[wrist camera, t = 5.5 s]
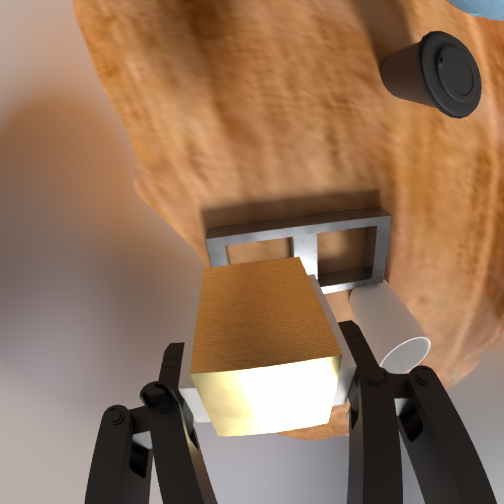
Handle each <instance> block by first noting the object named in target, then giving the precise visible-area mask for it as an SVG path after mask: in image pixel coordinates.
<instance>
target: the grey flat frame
mask: <svg viewBox="0 0 504 504" xmlns="http://www.w3.org/2000/svg"><path fill="white" fill-rule="evenodd" d="M390 225H391V215H390V214H389V213H387V212H386V211H385V210H384V209H382V208H372V209H362V210H353V211H344V212H335V213H326V214H317V215H309V216H301V217H293V218H285V219H277V220H269V221H262V222H254V223H247V224H240V225H233V226H226V227H219V228H212V229H208V230H207V235H206V243H207V248H208V252H209V257H210V261H211V265H212V267H217V266H226V265H231V263H230V258H229V253H228V247H227V245H233V244H241V243H248V242H255V241H263V240H270V239H277V238H285V237H290V249H291V258H292V257H300V259H301V261H302V264H303V266H304V268H305V270H306V272H307V274H308V275H309V274H315V276H316V279H317V281H318V283H319V285H320V287H321V289H322V291H323V293H324V294H325V293H330V292H336V291H342V290H348V289H353V288H358V287H364V286H369V285H374V284H379V283H383V279H384V273H385V267H386V260H387V252H388V244H389V235H390ZM362 227H367V242H366V254H365V264H364V268H359V269H353V270H347V271H341V272H335V273H328V274H322V275H317V233H323V232H331V231H338V230H346V229H354V228H362Z"/></svg>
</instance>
